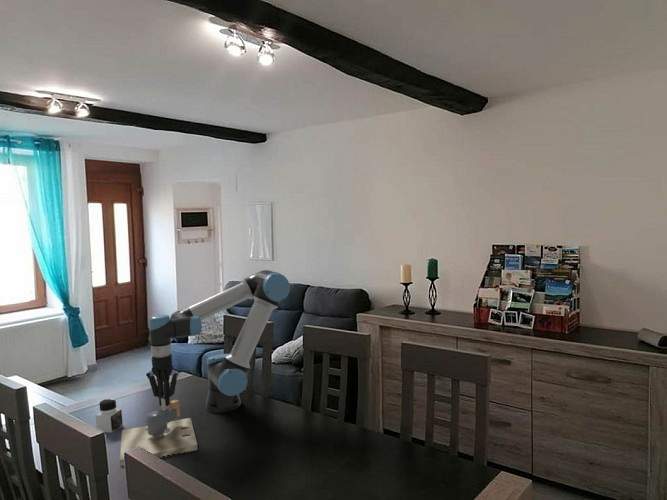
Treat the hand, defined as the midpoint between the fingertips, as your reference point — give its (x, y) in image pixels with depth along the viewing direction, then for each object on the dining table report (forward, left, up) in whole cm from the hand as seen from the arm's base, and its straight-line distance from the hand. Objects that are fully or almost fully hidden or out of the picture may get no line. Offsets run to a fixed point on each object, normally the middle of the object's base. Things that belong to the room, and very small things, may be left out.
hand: (165, 413), depth 198 cm
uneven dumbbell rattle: (0, +5, -3) cm, 6 cm away
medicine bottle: (+21, -14, -8) cm, 27 cm away
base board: (+3, +8, -8) cm, 12 cm away
